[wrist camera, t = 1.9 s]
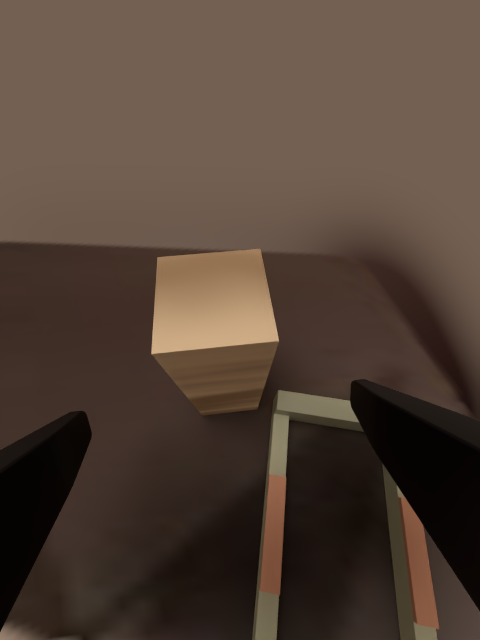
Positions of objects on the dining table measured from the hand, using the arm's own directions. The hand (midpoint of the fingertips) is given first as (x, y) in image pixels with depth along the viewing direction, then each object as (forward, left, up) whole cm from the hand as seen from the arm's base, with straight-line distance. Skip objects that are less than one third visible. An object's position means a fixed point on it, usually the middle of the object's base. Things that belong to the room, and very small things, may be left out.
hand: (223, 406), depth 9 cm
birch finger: (+3, -2, -10) cm, 11 cm away
